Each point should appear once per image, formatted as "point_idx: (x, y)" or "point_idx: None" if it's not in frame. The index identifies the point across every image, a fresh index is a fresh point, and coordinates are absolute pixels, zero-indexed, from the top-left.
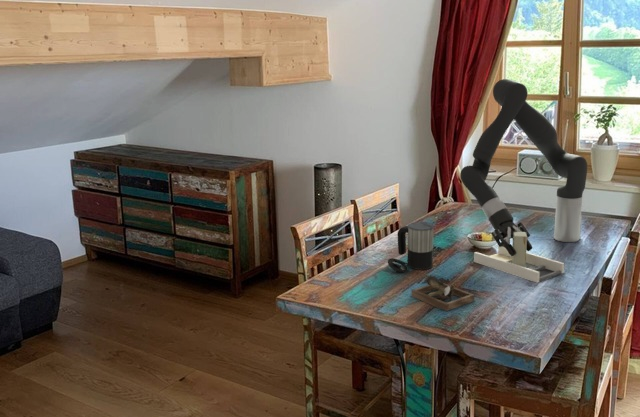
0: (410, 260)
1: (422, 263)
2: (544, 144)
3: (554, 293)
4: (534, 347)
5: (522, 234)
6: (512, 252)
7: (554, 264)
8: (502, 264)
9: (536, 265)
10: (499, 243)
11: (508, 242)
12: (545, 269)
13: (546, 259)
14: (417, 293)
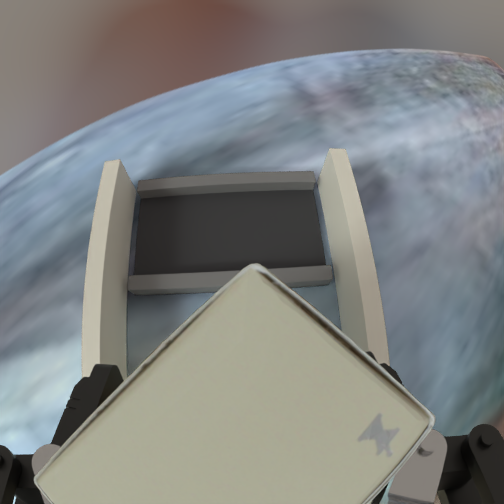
0: None
1: None
2: None
3: (345, 99)
4: (489, 63)
5: (210, 432)
6: (388, 366)
7: (118, 212)
8: None
9: (124, 349)
10: (464, 485)
11: (434, 439)
12: (147, 267)
13: (104, 263)
14: None
